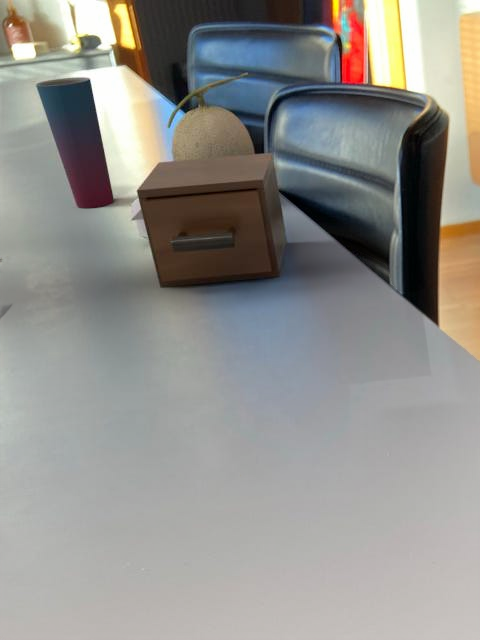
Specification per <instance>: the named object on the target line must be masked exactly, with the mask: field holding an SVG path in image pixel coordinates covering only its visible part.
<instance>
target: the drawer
mask: <svg viewBox="0 0 480 640" xmlns="http://www.w3.org/2000/svg"><path fill="white" fill-rule="evenodd" d="M143 205H144V209H145V213H146V217H147V221H148V226H149V230H150V234H151V238H152V242H153V246H154V250H155V254H156V259H157V263H158V267H159V271H160V275H161V279H162V281H173V280H184V279H195V278H207V277H218V276H229V275H240V274H251V273H262V272H272V263H271V257H270V252H269V246H268V240H267V235H266V229H265V224H264V218H263V212H262V207H261V201H260V195H259V190H257V189H246V190H234V191H222V192H211V193H199V194H187V195H176V196H164V197H155V199H146V200H144V202H143Z"/></svg>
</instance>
